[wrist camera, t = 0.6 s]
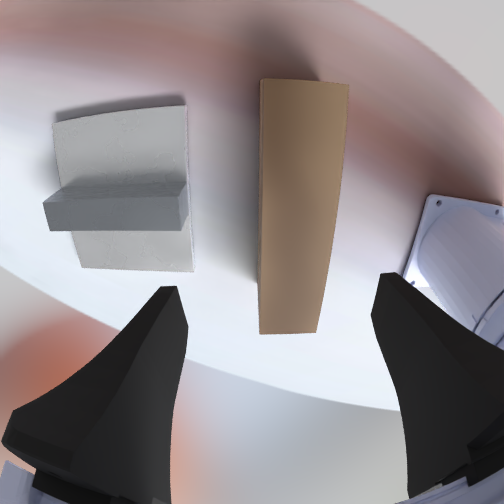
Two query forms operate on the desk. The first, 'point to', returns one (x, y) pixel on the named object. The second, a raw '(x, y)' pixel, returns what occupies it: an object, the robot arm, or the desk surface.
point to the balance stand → (125, 189)
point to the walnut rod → (297, 198)
